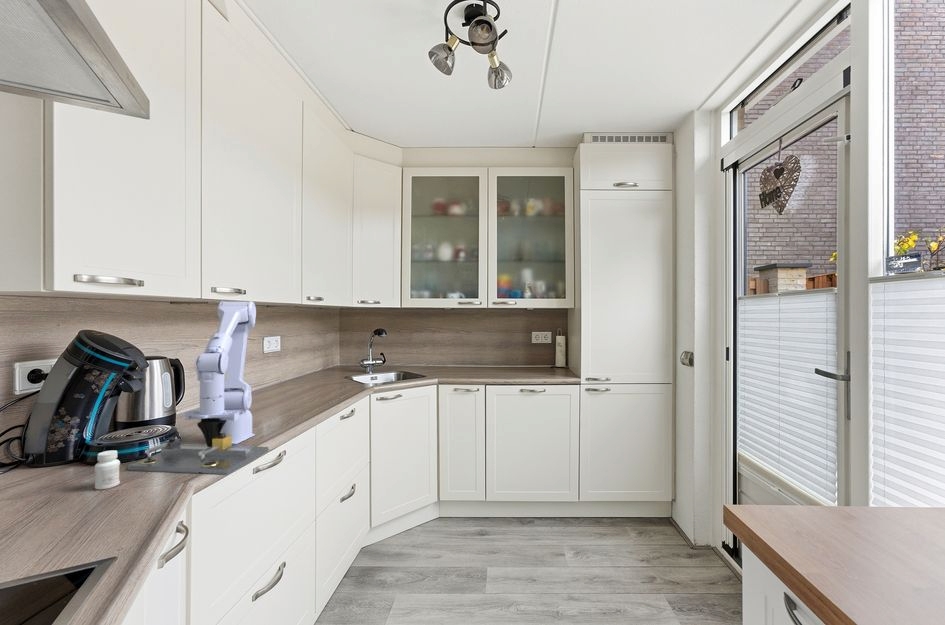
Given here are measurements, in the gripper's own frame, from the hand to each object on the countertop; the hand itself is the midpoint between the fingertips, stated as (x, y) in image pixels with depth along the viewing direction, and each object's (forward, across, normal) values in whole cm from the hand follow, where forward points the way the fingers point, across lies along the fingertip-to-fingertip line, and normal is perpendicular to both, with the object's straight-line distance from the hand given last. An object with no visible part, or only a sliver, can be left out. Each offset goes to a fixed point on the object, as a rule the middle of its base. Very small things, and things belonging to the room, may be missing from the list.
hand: (212, 445), depth 113 cm
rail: (+2, -2, 0) cm, 3 cm away
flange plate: (+3, -2, -2) cm, 4 cm away
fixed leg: (+2, -12, -3) cm, 13 cm away
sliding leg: (+2, +3, -3) cm, 5 cm away
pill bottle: (+4, -11, -19) cm, 22 cm away
